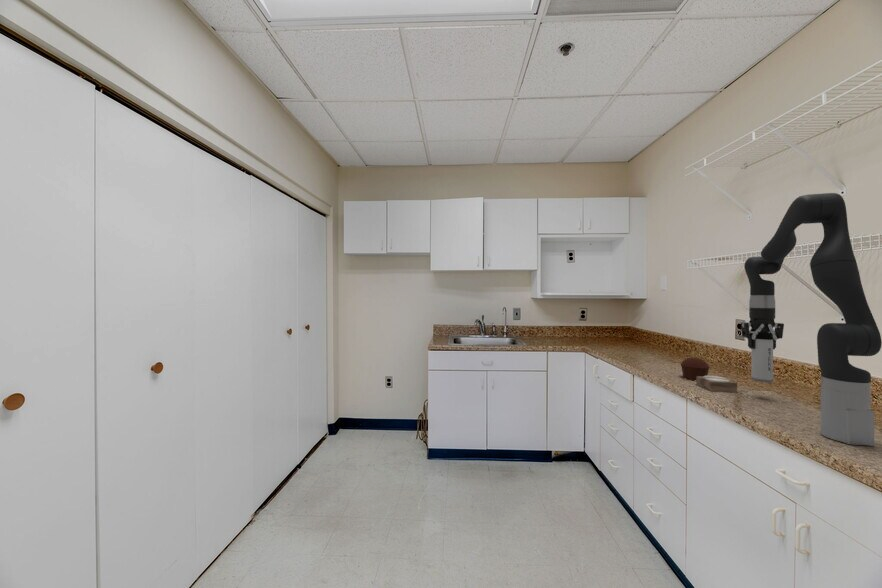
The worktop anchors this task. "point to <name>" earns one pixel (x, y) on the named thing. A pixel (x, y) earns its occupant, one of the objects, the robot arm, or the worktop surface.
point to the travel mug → (762, 358)
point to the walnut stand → (716, 384)
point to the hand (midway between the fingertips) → (761, 348)
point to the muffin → (694, 368)
